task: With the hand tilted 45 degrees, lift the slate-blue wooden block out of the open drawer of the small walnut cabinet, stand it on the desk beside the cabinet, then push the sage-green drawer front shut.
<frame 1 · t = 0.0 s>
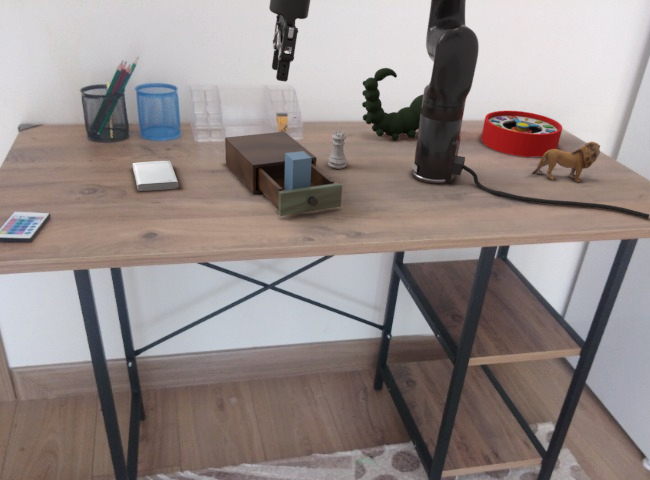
hand: (279, 75, 130), 22 cm above the table, tool pointing down, fingers open, 8 cm apart
drawer: (295, 185, 132), point 3 cm above the table, slide at 12.0 cm, touching slate block
lion figurine: (562, 178, 154), on the table
slate block: (297, 192, 132), point 2 cm above the table, touching drawer
hard drive: (155, 179, 138), on the table
toy clock: (518, 144, 173), on the table
rook chess piece: (336, 166, 151), on the table
toy figurine: (405, 137, 172), on the table
cabinet: (269, 174, 144), on the table
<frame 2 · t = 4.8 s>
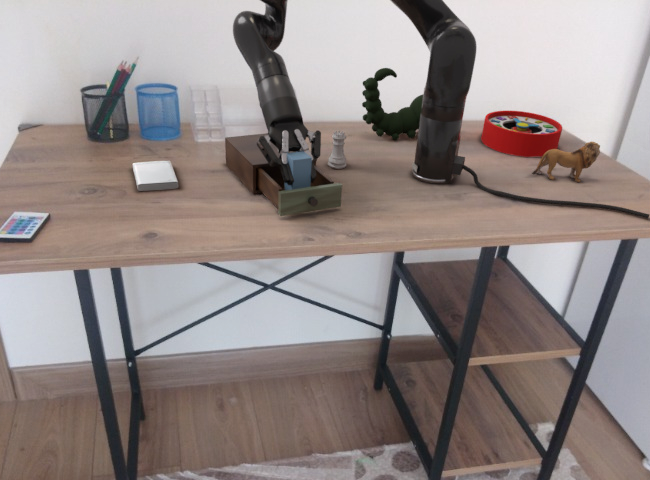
hand: (301, 181, 129), 5 cm above the table, tool tilted 45°, fingers closed on slate block, 4 cm apart
slate block: (297, 192, 132), point 2 cm above the table, touching drawer, gripper
everything else where it was.
when the fingers open (3 cm above the table, at t = 13.3 s): slate block stays where it is, on the table.
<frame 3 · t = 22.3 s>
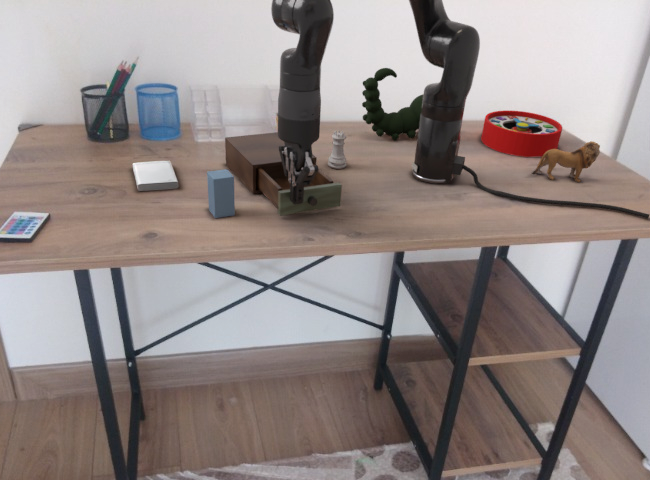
hand: (296, 202, 123), 4 cm above the table, tool pointing down, fingers closed
drawer: (295, 185, 132), point 3 cm above the table, slide at 11.8 cm, touching gripper
slate block: (221, 212, 126), on the table
everything else where it was.
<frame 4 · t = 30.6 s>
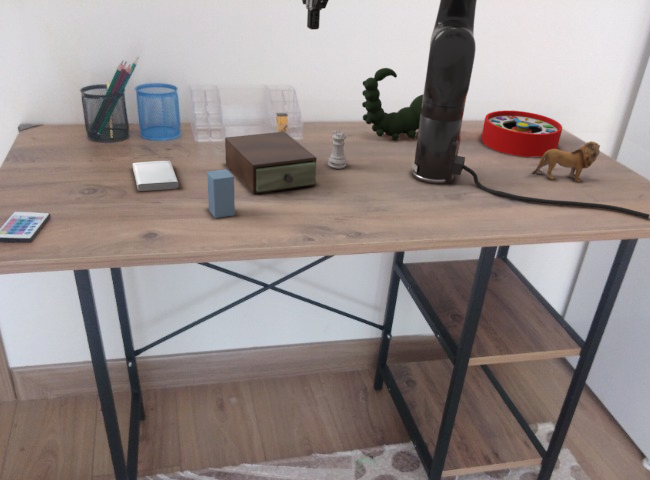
hand: (312, 28, 139), 29 cm above the table, tool pointing down, fingers closed
drawer: (273, 164, 141), point 3 cm above the table, slide at 0.0 cm, touching cabinet
everything else where it was.
at the end: slate block 0.1 cm from the target spot, on the table; slate block tilted 0°; drawer slide at 0.0 cm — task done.
